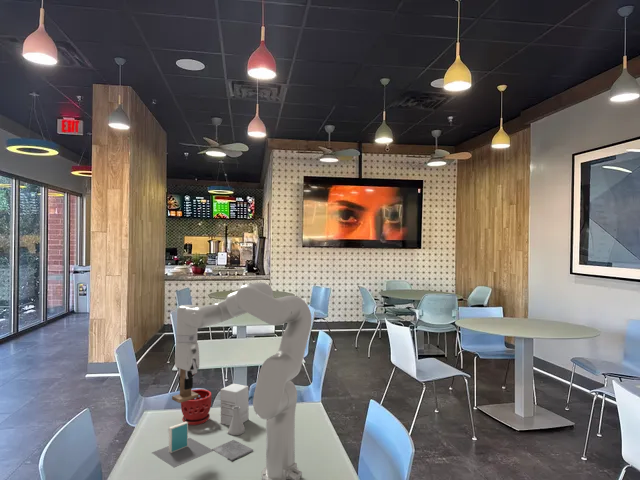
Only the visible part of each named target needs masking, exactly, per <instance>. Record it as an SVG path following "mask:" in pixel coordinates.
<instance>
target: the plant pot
mask: <svg viewBox="0 0 640 480" xmlns="http://www.w3.org/2000/svg"><path fill="white" fill-rule="evenodd" d="M191 391H193V392H195V393H197V394H199V397H198V398H194V399H191V400H188V401H184V402H181V403H180V409H181V413H182V415H183V416H182V423H183V422H188V426H197V425H202V424H204V423H206V422H208V421H209V419H210V416H211V415H210V410H211V408H212V407H211V406H212V399H213V398H212V392H211V391H209V389H202V388H201V389H191Z"/></svg>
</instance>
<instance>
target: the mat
mask: <svg viewBox="0 0 640 480" xmlns="http://www.w3.org/2000/svg"><path fill="white" fill-rule="evenodd" d="M212 449H213V448H212ZM212 449H211V448H209V447H208V446H206V445H204V444H203V443H201V442H199V441H197V440H194V439H193V438H191V437H188V446H187V447H185V448H182V449H180V450H177V451H175V452H172V453H170V452H169V445H168V446H165V447H163V448H161V449H158V450H155V451H153V452H151V454H153V455H155V456H156V457H157V458H158V459H160V460H162V461H163V462H165V463H167V464H168V465H170V466H171V467H173V468H176V467H179V466H182V465H184V464H186V463H189V462H190V461H193V460H195V459H197V458H200V457H202V456H204V455H208V454H209V453H212V452H213V451H214V450H212ZM214 452H215V451H214Z"/></svg>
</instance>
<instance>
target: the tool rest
mask: <svg viewBox="0 0 640 480" xmlns="http://www.w3.org/2000/svg"><path fill="white" fill-rule="evenodd" d="M212 450H214V452H215V453H217V454H220V456H222V457H225V458H226V459H227V460H229V461H230V462H233V461H235V460H237V459H240V458H242V457H244V456H246V455H248V454H250V453H253V452H254V449H253V448H251V447H249V446H247V445H245V444H243V443H241V442H239V441H237V440H234V439H233V440H230V441H227V442H225V443H223V444H220V445H218V446H216V447H214V448H213V447H212Z"/></svg>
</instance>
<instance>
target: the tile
mask: <svg viewBox="0 0 640 480" xmlns="http://www.w3.org/2000/svg"><path fill="white" fill-rule="evenodd" d="M188 438H189V425H188V422H183V421H182V422H181V423H178V424H175V425H172V426H169V427H168V446H169V452H170V453H172V452H175V451H177V450H180V449H182V448H185V447H187V446H188Z"/></svg>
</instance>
